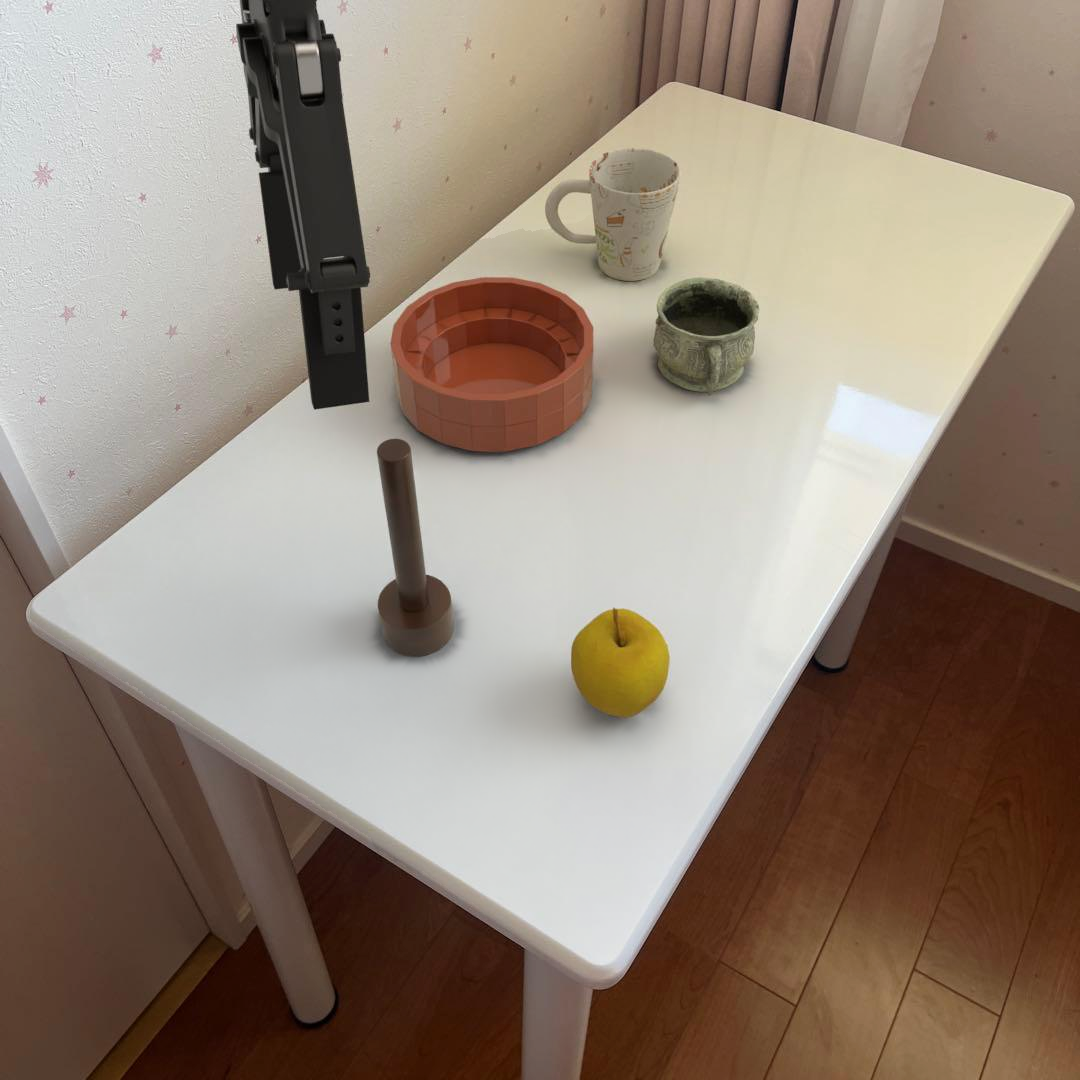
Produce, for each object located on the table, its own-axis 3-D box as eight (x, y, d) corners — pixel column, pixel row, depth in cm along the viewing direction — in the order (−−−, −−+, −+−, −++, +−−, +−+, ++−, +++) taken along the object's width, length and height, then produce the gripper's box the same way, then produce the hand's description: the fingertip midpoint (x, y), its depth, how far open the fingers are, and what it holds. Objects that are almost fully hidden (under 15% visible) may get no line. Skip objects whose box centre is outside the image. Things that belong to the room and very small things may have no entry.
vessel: (643, 326, 101) (648, 267, 97) (738, 322, 102) (747, 264, 97) (659, 411, 93) (665, 351, 89) (763, 407, 94) (774, 347, 89)
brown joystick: (378, 656, 76) (345, 478, 63) (386, 600, 79) (357, 420, 67) (450, 657, 76) (431, 479, 63) (456, 601, 79) (439, 422, 67)
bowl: (387, 455, 90) (379, 398, 85) (409, 331, 101) (403, 275, 97) (591, 458, 89) (594, 401, 85) (590, 334, 101) (592, 278, 96)
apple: (600, 646, 76) (604, 569, 71) (681, 687, 74) (693, 612, 68) (550, 710, 73) (550, 636, 67) (634, 756, 70) (642, 683, 65)
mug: (667, 292, 105) (677, 196, 98) (537, 280, 106) (537, 186, 99) (674, 244, 111) (683, 151, 103) (550, 234, 112) (551, 141, 105)
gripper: (429, -68, 38) (444, 452, 51) (310, -160, 56) (343, 239, 69) (203, -62, 36) (279, 478, 49) (156, -159, 54) (221, 251, 67)
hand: (317, 338), depth 59 cm, fingers open, 13 cm apart
